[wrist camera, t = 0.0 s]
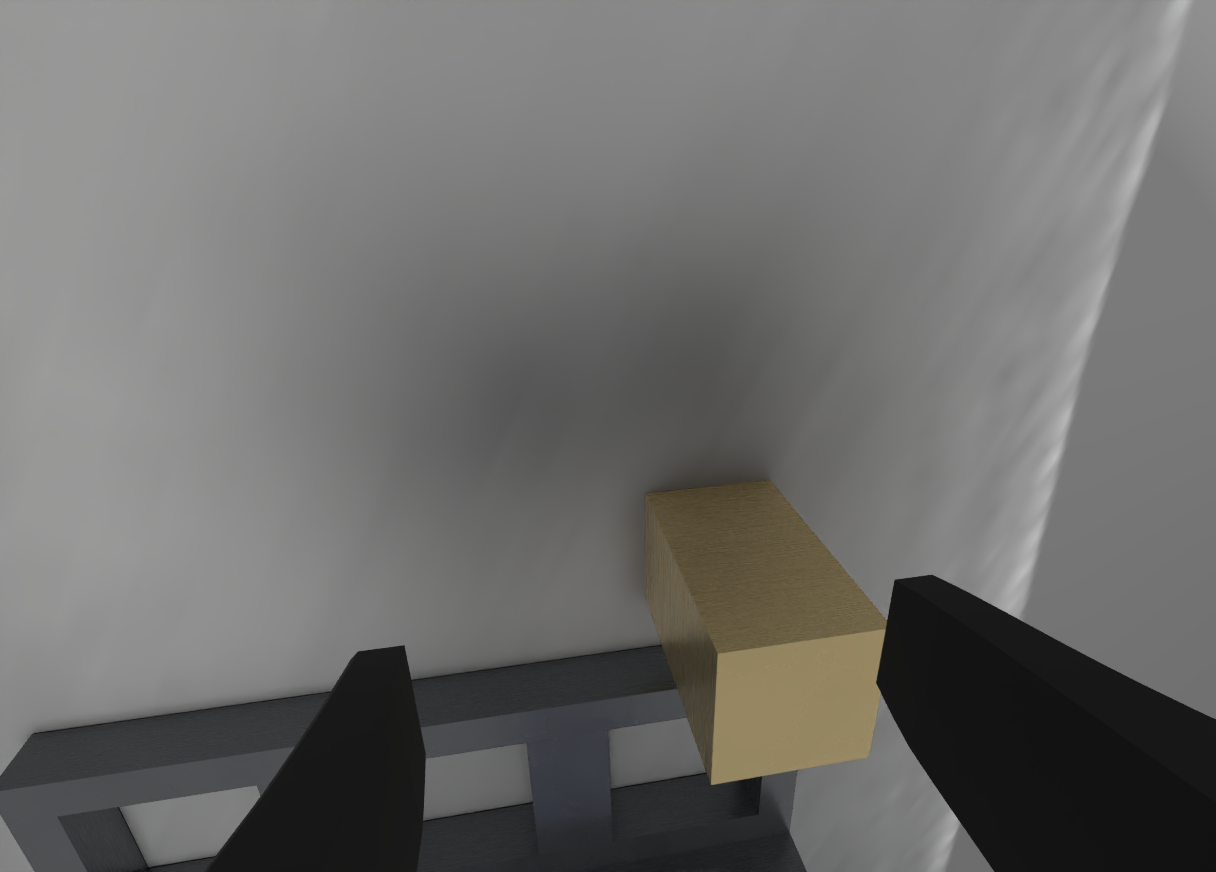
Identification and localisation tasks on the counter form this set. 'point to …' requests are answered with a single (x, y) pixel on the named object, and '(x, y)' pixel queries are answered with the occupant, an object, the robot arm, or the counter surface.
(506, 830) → the charcoal rail
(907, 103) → the counter surface
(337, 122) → the counter surface
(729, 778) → the brass peg
